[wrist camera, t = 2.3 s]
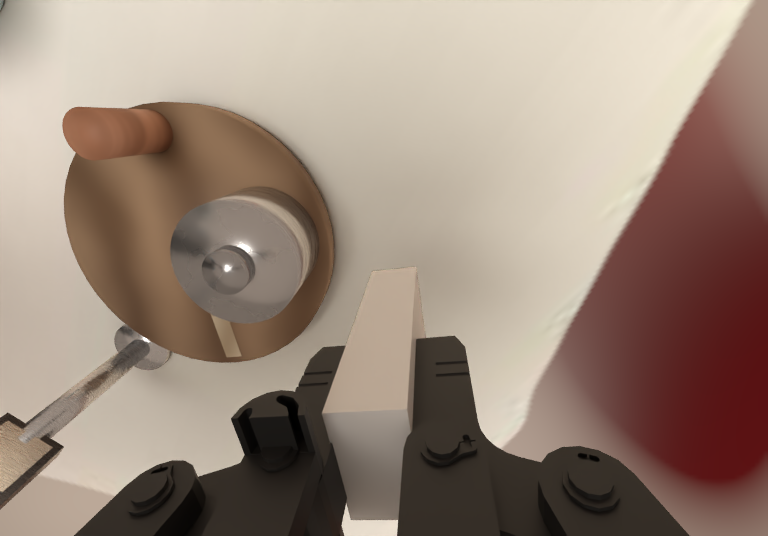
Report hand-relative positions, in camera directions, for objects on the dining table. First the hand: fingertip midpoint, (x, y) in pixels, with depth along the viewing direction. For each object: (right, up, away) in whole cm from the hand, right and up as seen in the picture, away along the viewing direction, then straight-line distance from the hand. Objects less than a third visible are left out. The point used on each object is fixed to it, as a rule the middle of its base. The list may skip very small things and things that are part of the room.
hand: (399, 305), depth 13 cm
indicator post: (-20, -5, +18) cm, 28 cm away
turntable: (-13, +3, +14) cm, 19 cm away
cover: (-8, +3, +11) cm, 14 cm away
